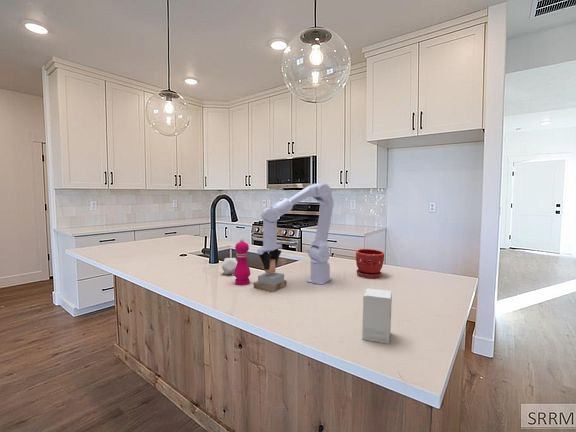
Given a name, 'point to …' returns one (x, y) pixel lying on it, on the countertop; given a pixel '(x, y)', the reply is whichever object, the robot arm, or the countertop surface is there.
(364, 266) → the plant pot
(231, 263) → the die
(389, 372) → the countertop surface
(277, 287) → the tower base
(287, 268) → the countertop surface
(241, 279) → the pepper mill
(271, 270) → the cylinder
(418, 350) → the countertop surface
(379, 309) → the supplement box
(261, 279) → the tower top
